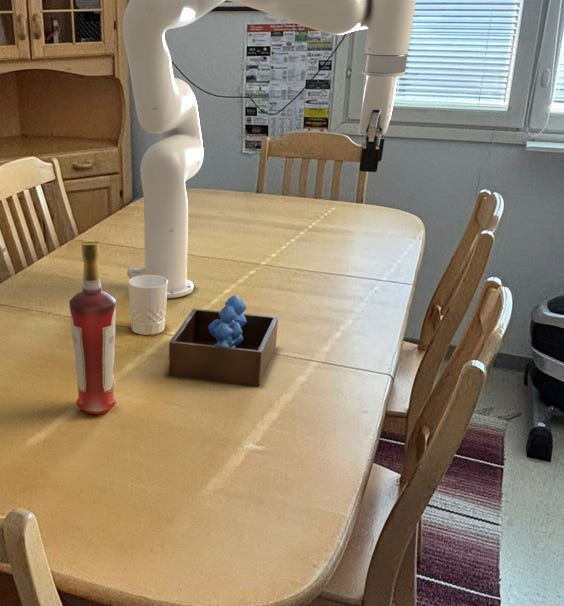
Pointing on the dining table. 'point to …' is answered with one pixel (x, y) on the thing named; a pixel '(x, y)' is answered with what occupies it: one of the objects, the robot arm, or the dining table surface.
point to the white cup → (147, 303)
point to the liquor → (93, 337)
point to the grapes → (229, 323)
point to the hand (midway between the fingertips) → (370, 165)
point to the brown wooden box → (222, 350)
